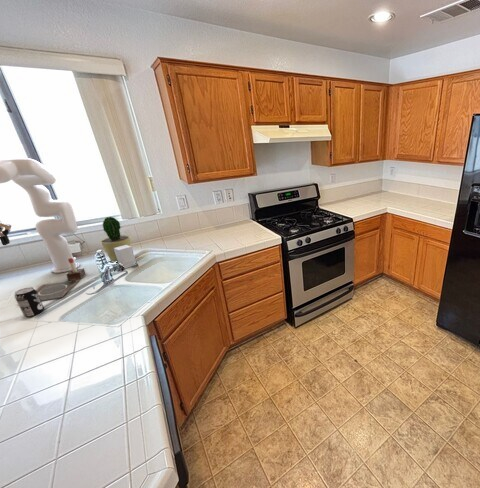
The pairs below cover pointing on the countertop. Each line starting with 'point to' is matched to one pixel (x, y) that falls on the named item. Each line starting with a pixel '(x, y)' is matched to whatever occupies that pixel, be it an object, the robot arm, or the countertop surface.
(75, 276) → the pen holder
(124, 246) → the white packaging box
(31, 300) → the beverage can
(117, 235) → the potted cactus
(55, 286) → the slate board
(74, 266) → the marker
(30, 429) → the countertop surface
